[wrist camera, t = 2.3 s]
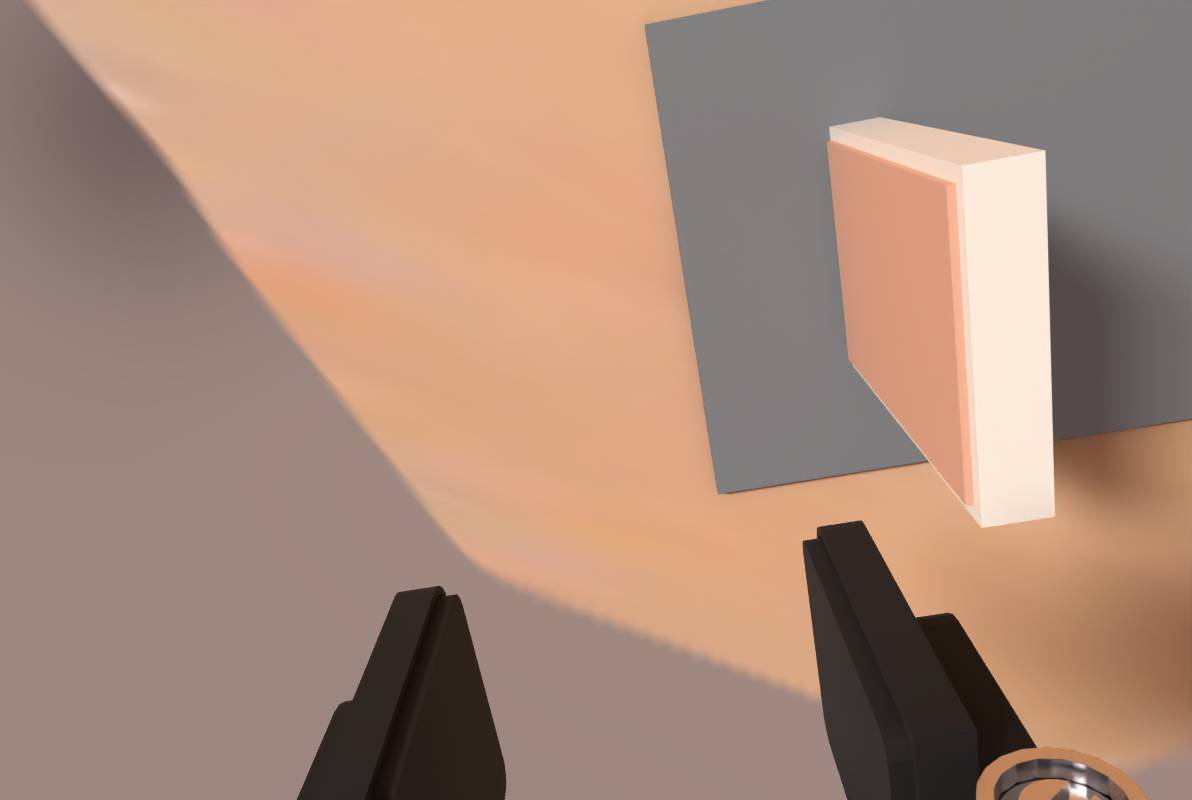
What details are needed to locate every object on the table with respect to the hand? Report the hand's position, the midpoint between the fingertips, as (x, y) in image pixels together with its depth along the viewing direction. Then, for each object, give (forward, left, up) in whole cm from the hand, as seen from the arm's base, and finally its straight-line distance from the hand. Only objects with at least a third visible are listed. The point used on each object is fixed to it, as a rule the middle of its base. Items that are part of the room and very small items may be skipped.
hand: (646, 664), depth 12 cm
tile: (-8, 0, -21) cm, 22 cm away
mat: (-12, 0, -21) cm, 24 cm away
